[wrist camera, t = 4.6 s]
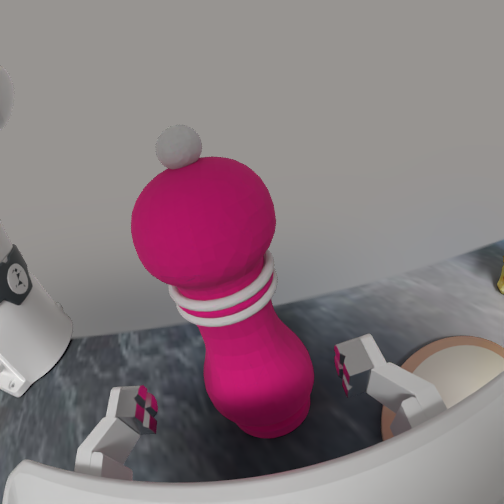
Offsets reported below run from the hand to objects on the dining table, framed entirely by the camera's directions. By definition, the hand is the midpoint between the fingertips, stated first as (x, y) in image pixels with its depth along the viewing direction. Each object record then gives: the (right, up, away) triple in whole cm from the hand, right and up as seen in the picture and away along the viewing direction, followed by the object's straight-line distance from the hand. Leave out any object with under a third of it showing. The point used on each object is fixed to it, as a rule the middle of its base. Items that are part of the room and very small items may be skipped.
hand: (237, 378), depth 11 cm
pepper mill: (+2, -7, +9) cm, 12 cm away
